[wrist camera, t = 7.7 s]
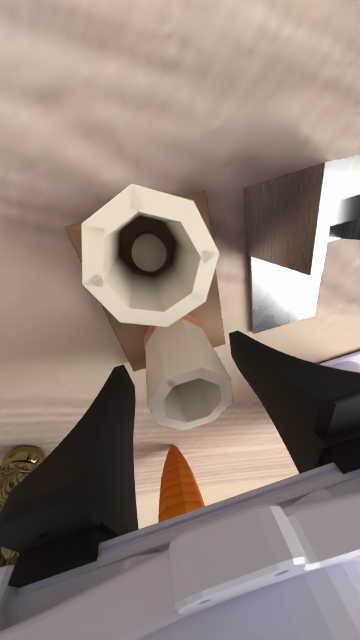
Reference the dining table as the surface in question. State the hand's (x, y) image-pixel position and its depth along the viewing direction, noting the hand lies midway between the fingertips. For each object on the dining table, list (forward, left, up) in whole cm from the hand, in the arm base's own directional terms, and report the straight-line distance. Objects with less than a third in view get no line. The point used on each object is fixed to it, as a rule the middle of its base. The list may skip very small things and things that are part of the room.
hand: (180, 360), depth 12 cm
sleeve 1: (+7, 0, -3) cm, 7 cm away
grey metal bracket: (+3, -10, -4) cm, 11 cm away
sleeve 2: (0, 0, -3) cm, 3 cm away
